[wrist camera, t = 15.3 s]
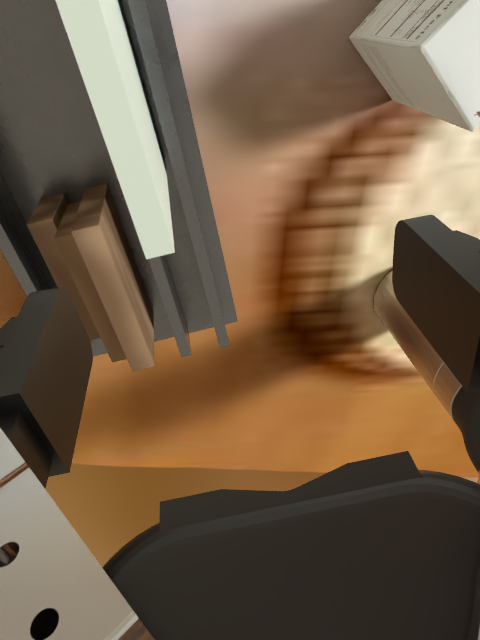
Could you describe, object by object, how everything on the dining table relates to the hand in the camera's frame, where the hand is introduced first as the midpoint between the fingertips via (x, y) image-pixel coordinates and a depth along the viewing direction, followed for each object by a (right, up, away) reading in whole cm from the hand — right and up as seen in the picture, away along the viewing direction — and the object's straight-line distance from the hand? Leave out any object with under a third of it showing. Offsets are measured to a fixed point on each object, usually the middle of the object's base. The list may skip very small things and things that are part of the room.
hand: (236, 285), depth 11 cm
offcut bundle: (-13, +5, +32) cm, 35 cm away
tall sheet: (-9, +19, +23) cm, 31 cm away
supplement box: (+14, +23, +27) cm, 38 cm away
